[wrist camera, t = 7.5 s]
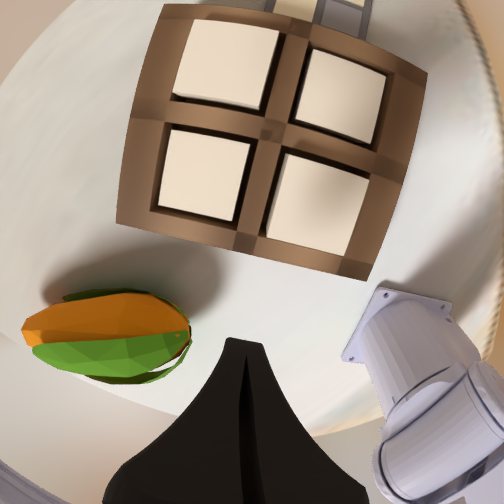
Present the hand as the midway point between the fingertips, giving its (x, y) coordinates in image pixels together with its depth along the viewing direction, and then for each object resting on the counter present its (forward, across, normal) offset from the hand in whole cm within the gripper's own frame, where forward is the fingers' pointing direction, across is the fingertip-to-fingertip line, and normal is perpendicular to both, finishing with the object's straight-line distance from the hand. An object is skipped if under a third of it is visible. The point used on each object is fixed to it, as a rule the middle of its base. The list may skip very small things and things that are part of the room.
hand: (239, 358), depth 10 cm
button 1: (+8, -3, -5) cm, 10 cm away
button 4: (+8, +4, -12) cm, 15 cm away
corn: (+11, +12, +10) cm, 19 cm away
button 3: (+9, +4, -5) cm, 11 cm away
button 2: (+9, -3, -12) cm, 15 cm away
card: (+10, 0, -20) cm, 22 cm away
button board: (+10, 0, -8) cm, 13 cm away
